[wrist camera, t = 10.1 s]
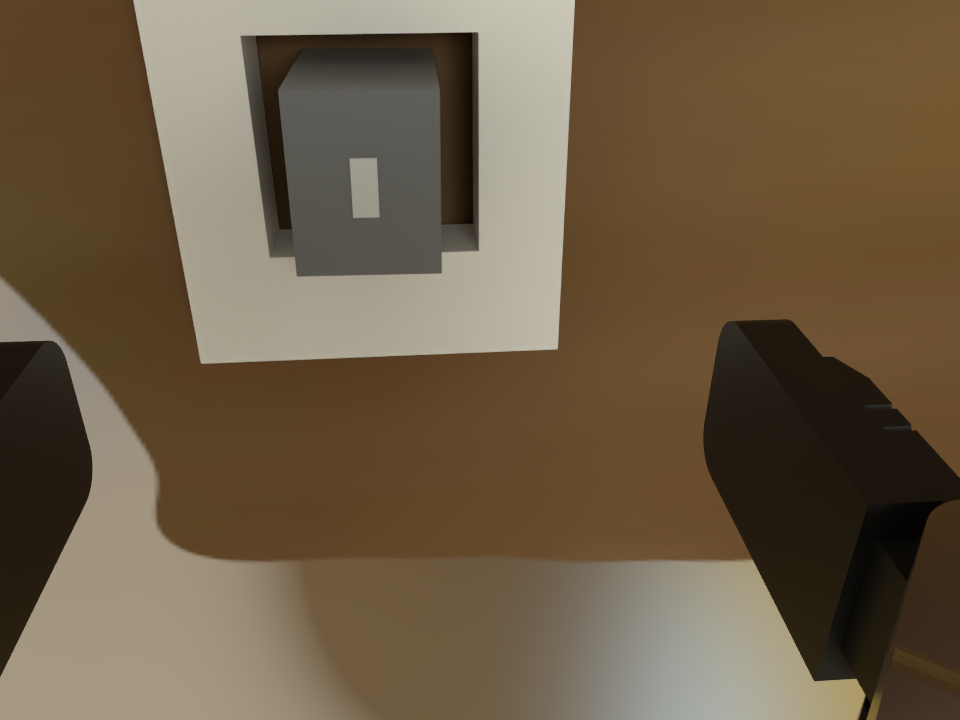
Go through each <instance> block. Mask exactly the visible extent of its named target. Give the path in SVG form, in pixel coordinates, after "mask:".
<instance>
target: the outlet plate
mask: <svg viewBox="0 0 960 720" xmlns="http://www.w3.org/2000/svg"><path fill="white" fill-rule="evenodd" d="M133 1H134V7H135V12H136V17H137V23H138V28H139V34H140V39H141V44H142V50H143V55H144V60H145V66H146V71H147V76H148V82H149V87H150V93H151V98H152V103H153V109H154V114H155V119H156V125H157V130H158V135H159V141H160V146H161V151H162V157H163V162H164V168H165V173H166V178H167V184H168V189H169V194H170V200H171V205H172V210H173V216H174V221H175V227H176V232H177V237H178V243H179V248H180V253H181V259H182V264H183V269H184V275H185V280H186V286H187V291H188V296H189V302H190V307H191V312H192V318H193V323H194V328H195V334H196V339H197V345H198V350H199V355H200V361H201V364H207V363H232V362H256V361H281V360H306V359H330V358H355V357H379V356H404V355H429V354H453V353H478V352H502V351H527V350H552V349H558V332H559V312H560V292H561V271H562V251H563V231H564V210H565V190H566V170H567V149H568V129H569V109H570V88H571V68H572V48H573V27H574V7H575V0H133ZM463 32H472V103H473V224H445V225H441V242H442V274H394V275H347V276H300V277H297V274H296V264H295V254H294V244H293V234H292V229H279V222H278V214H277V206H276V198H275V190H274V182H273V174H272V166H271V157H270V149H269V141H268V133H267V125H266V117H265V109H264V101H263V93H262V85H261V77H260V69H259V60H258V52H257V44H256V36H255V35H324V34H394V33H463Z"/></svg>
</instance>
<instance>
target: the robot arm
mask: <svg viewBox="0 0 960 720" xmlns="http://www.w3.org/2000/svg"><path fill="white" fill-rule="evenodd" d="M703 442H704V453H705V459H706V464H707V467H708V471H709V473H710V475H711V478H712V480H713V482H714V484H715V486H716V487H717V489H718V491H719V493H720V495H721V497H722V499H723V501H724V503H725V505H726V507H727V509H728V511H729V513H730V515H731V517H732V519H733V521H734V523H735V525H736V527H737V529H738V531H739V533H740V535H741V537H742V539H743V541H744V543H745V545H746V547H747V549H748V551H749V553H750V555H751V557H752V559H753V561H754V563H755V565H756V567H757V569H758V570H759V573H760V575H761V577H762V579H763V580H764V583H765V585H766V586H767V589H768V590H769V592H770V594H771V596H772V598H773V600H774V602H775V604H776V606H777V608H778V610H779V612H780V614H781V616H782V618H783V620H784V622H785V624H786V626H787V628H788V630H789V632H790V634H791V636H792V638H793V640H794V642H795V644H796V646H797V648H798V650H799V652H800V654H801V656H802V658H803V660H804V662H805V664H806V666H807V668H808V669H809V672H810V674H811V676H812V678H813V680H814V681H825V680H841V679H857V680H858V682H859V684H860V686H861V687H862V689H863V691H864V693H865V698H864V701H863V703H862V706H861V709H860V712H859V715H858V718H857V720H960V478H959V477H958V476H957V475H956V474H955V473H954V471H953V470H952V469H951V468H950V467H949V466H948V465H947V464H946V463H945V461H944V460H943V459H942V458H941V457H940V456H939V455H938V454H937V453H936V452H935V450H934V449H933V448H932V447H931V446H930V445H929V444H928V443H927V442H926V441H925V439H924V438H923V437H922V436H921V435H920V434H919V433H918V432H917V431H916V430H915V431H912V430H911V424H910V423H909V422H908V421H907V420H906V418H905V417H904V416H903V415H902V414H901V413H900V412H899V411H898V410H897V409H892V403H891V402H890V401H889V400H888V399H887V398H886V396H885V395H884V394H883V393H882V392H881V391H880V390H879V389H878V388H877V387H876V385H875V384H874V383H873V382H872V381H871V380H870V379H869V378H868V377H866V376H864V375H863V374H861V373H859V372H858V371H856V370H854V369H853V368H851V367H849V366H848V365H846V364H844V363H842V362H841V361H839V360H837V359H836V358H834V357H822V355H821V354H820V353H819V352H818V351H817V349H816V348H815V347H814V346H813V345H812V344H811V342H810V341H809V340H808V339H807V338H806V337H805V335H804V334H803V333H802V332H801V331H800V330H799V328H798V327H797V326H796V325H795V324H794V323H793V322H792V321H790V320H786V319H784V320H751V321H729V322H727V323H726V324H725V325H724V327H723V328H722V331H721V333H720V336H719V341H718V346H717V352H716V358H715V364H714V370H713V376H712V382H711V387H710V393H709V399H708V405H707V411H706V417H705V423H704V433H703ZM91 482H92V455H91V449H90V445H89V441H88V438H87V434H86V430H85V427H84V423H83V419H82V416H81V412H80V408H79V405H78V401H77V397H76V394H75V390H74V387H73V383H72V379H71V376H70V372H69V369H68V365H67V361H66V358H65V355H64V353H63V351H62V349H61V348H60V346H59V345H57V343H55V342H53V341H26V342H0V676H1V674H2V672H3V670H4V668H5V666H6V664H7V662H8V660H9V658H10V656H11V653H12V652H13V650H14V648H15V646H16V644H17V642H18V640H19V638H20V636H21V634H22V632H23V630H24V627H25V625H26V623H27V621H28V619H29V617H30V615H31V613H32V611H33V609H34V607H35V605H36V603H37V601H38V599H39V597H40V595H41V593H42V591H43V589H44V587H45V585H46V583H47V581H48V579H49V577H50V575H51V573H52V571H53V568H54V566H55V564H56V562H57V560H58V558H59V556H60V554H61V552H62V550H63V548H64V546H65V544H66V542H67V540H68V538H69V536H70V534H71V532H72V530H73V528H74V526H75V524H76V522H77V520H78V518H79V516H80V513H81V512H82V510H83V507H84V505H85V503H86V501H87V499H88V496H89V493H90V488H91Z"/></svg>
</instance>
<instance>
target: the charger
mask: <svg viewBox="0 0 960 720" xmlns="http://www.w3.org/2000/svg"><path fill="white" fill-rule="evenodd" d="M278 96H279V106H280V116H281V126H282V136H283V145H284V155H285V165H286V175H287V185H288V195H289V205H290V214H291V224H292V234H293V244H294V254H295V264H296V274H297V277H300V276H347V275H394V274H442V242H441V148H440V88H439V82H438V77H437V71H436V66H435V60H434V55H433V49H432V48H426V49H302V50H301V52H300V53H299V55H298V57H297V59H296V60H295V62H294V64H293V65H292V67H291V69H290V71H289V72H288V74H287V76H286V78H285V79H284V81H283V83H282V84H281V86H280V88H279V90H278Z"/></svg>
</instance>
